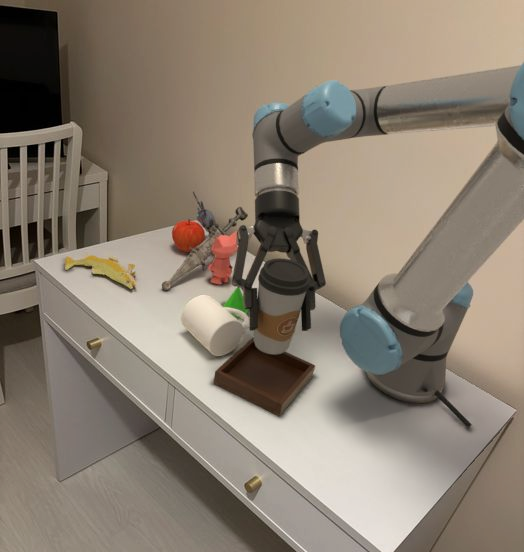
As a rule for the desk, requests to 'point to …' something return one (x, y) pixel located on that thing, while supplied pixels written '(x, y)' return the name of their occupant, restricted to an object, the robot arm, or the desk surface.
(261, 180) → the robot arm
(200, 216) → the toy
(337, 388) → the desk surface
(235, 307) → the green pyramid
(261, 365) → the serving tray
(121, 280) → the toy
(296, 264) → the coffee cup
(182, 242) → the apple
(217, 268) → the cat figurine
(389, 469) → the desk surface
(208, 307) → the mug
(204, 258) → the decorative dagger
